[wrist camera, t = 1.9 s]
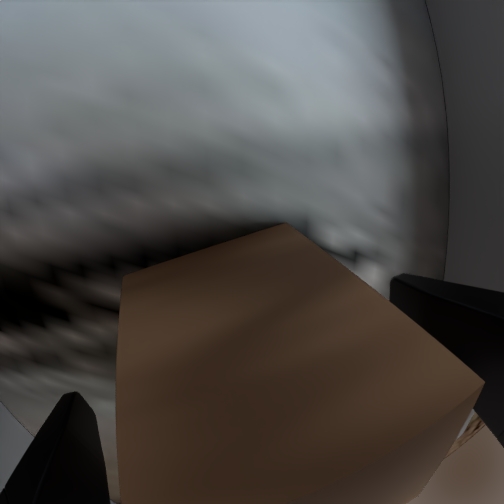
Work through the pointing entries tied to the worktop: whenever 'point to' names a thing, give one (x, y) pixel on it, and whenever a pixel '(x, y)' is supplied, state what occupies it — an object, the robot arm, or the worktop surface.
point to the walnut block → (277, 382)
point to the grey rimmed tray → (460, 159)
